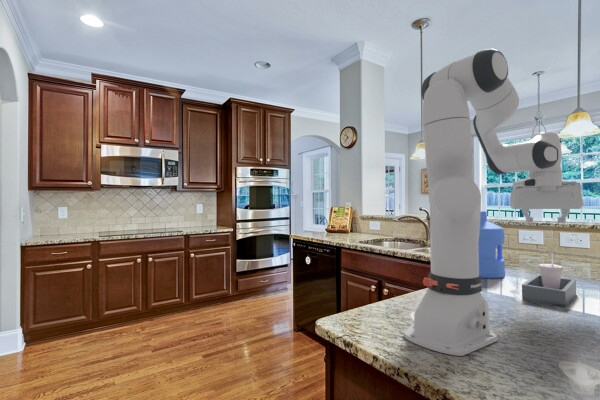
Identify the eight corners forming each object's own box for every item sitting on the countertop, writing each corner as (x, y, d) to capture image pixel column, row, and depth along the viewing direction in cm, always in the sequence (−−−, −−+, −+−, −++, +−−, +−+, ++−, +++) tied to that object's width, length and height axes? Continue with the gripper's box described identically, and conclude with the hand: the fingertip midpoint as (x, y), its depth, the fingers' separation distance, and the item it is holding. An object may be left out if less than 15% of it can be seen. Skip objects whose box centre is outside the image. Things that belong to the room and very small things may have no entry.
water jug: (469, 278, 132) (468, 212, 133) (460, 270, 148) (458, 211, 148) (511, 279, 129) (509, 211, 129) (497, 271, 144) (495, 210, 144)
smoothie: (568, 297, 101) (567, 254, 101) (545, 296, 102) (544, 254, 102) (556, 292, 107) (555, 251, 107) (535, 291, 108) (534, 251, 108)
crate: (565, 307, 94) (565, 291, 94) (522, 299, 102) (521, 284, 103) (576, 294, 107) (576, 279, 108) (537, 288, 116) (536, 274, 116)
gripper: (575, 181, 106) (575, 222, 106) (507, 182, 111) (508, 221, 111) (587, 180, 100) (588, 223, 100) (515, 181, 105) (516, 222, 104)
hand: (545, 222), depth 105 cm, fingers open, 8 cm apart
